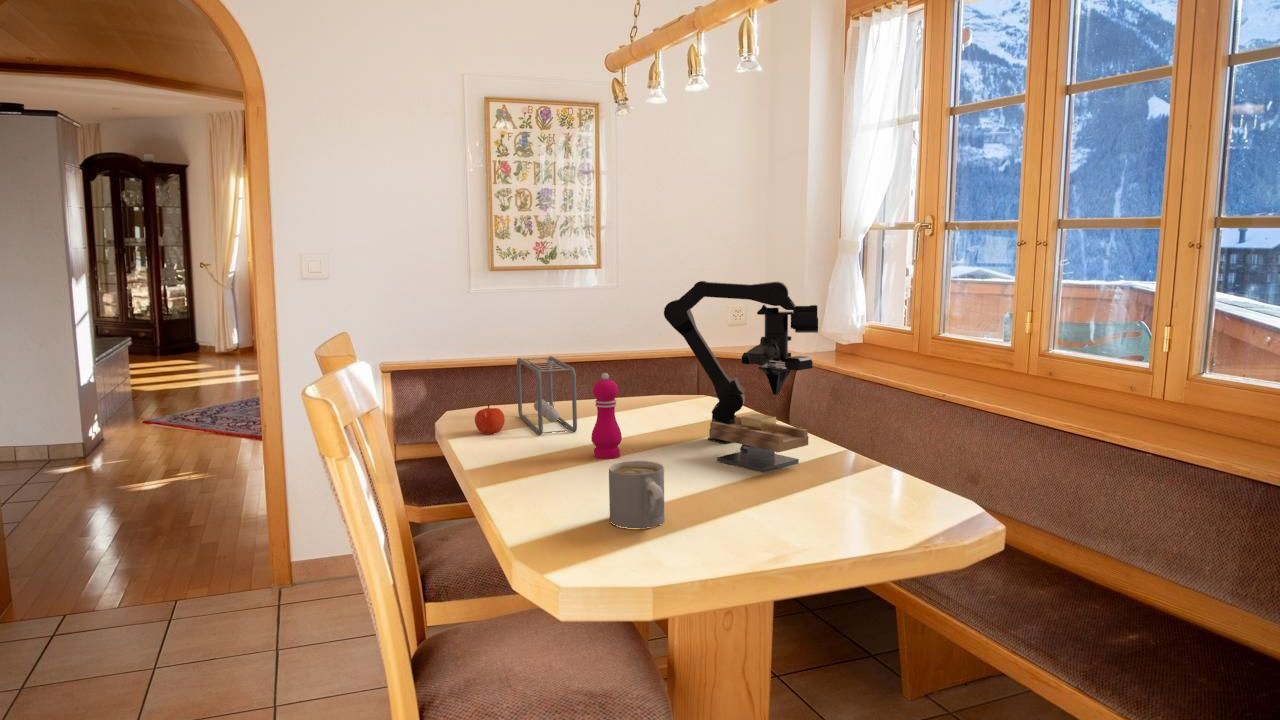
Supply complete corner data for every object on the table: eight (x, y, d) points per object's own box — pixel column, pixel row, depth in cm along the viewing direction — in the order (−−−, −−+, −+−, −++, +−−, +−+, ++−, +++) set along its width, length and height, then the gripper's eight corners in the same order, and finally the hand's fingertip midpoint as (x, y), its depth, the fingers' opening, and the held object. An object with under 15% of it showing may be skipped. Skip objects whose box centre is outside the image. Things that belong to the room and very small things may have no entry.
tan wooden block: (741, 431, 197) (741, 416, 197) (756, 428, 201) (756, 413, 200) (761, 435, 193) (761, 420, 192) (775, 432, 196) (776, 416, 196)
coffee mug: (603, 516, 161) (602, 463, 159) (653, 510, 164) (653, 458, 162) (625, 538, 148) (624, 481, 147) (679, 531, 151) (678, 476, 150)
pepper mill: (586, 457, 205) (584, 374, 202) (601, 451, 211) (599, 370, 209) (612, 460, 202) (610, 375, 199) (627, 454, 208) (626, 371, 205)
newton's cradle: (577, 433, 232) (576, 368, 229) (539, 437, 228) (537, 370, 226) (552, 413, 260) (551, 355, 258) (518, 416, 257) (516, 357, 254)
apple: (500, 436, 229) (498, 407, 228) (470, 436, 230) (469, 406, 229) (509, 430, 237) (508, 401, 236) (481, 430, 238) (479, 401, 237)
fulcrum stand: (717, 461, 199) (717, 440, 199) (752, 452, 207) (752, 432, 206) (763, 472, 189) (763, 450, 188) (798, 463, 196) (798, 441, 196)
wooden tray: (709, 437, 202) (709, 421, 202) (738, 430, 208) (738, 415, 208) (778, 452, 186) (778, 435, 186) (808, 445, 193) (808, 428, 192)
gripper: (726, 332, 217) (726, 394, 219) (784, 337, 203) (783, 403, 205) (756, 329, 224) (756, 388, 226) (814, 334, 210) (813, 397, 212)
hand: (775, 394), depth 217 cm, fingers closed
